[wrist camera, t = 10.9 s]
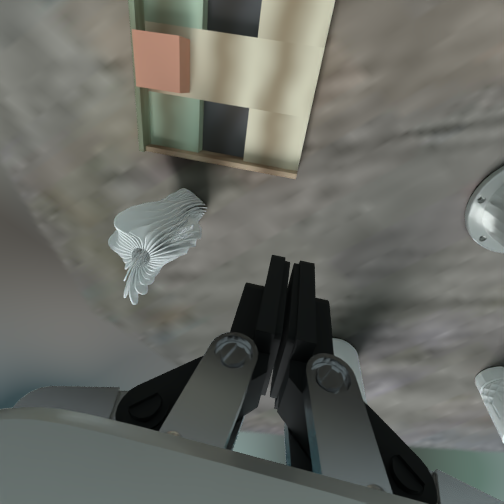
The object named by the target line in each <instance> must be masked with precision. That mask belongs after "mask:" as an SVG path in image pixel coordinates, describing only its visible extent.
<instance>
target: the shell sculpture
mask: <svg viewBox="0 0 504 504" xmlns="http://www.w3.org/2000/svg"><path fill="white" fill-rule="evenodd" d="M202 203H203V201H200V199H199V198H198V197H197V196H196V195H195V194H193V193H192V192H191V191H190V190H187V189H185V188H181V189H179V190H178V191H177V192H175V193H171V194H170V195H168V196H167V197H166V198H165V199H161V200H160V201H157V202H149V203H143V204H140V205H137V206H132V207H130V208H128V209H126V210H125V211H123V212H120V213H119V214H118V215H117V216H116V217H115V219H114V226H115V227H116V229H117V230H116V231H115V232H114V234H112V236H111V237H110V238H109V240H108V244H109V246H110V247H111V249H112V250H114V251H115V252H117V253H118V254H119V256H120V257H122V258H123V262H124V263H126V265H125V268H124V269H125V270H126V269H127V268H128V267H129V266H130V267H129V270H128V272H127V274H126V276H125V279H124V281H125V280H126V277H127V275H128V273H129V271H130V269H131V268H132V266H133V265H134V263H135V262H136V260H137V259H138V257H139V259H138V260H137V262H136V263H135V265H134V266H133V268H132V270H131V273H130V275H129V278H128V280H127V283H126V286H125V290H124V298H126V297H127V295H128V291H129V297H130V300H131V302H132V303H133V304H134V305H136V304H137V303H138V293H140V294H146V293H147V292H148V285H150V284H152V283H153V282H154V280H155V276H156V275H157V274H158V273H159V272H160V269H161V268H162V267H163V266H164V265H165V264H167V263H168V262H170V261H172V260H174V259H177V258H178V257H179V256H182V255H185V254H187V252H188V249H189V247H196V240H197V239H201V235H202V231H201V230H202V229H201V226H200V225H199V223H198V222H199V221H200V219H201V217H203V215H202V214H205V213H203V212H207V211H205V210H202V209H199V208H206V209H207V207H195V206H203V205H205V204H202ZM192 207H193V208H192ZM187 208H188V209H190V208H191V209H190V210H188V209H187ZM187 210H188V211H187ZM187 212H188V213H187ZM190 226H191V228H190ZM171 242H172V243H171ZM142 249H143V250H142ZM141 250H142V251H141ZM145 251H146V252H145ZM143 254H144V255H143ZM142 255H143V256H142ZM141 257H142V258H141Z"/></svg>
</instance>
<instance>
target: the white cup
mask: <svg viewBox="0 0 504 504" xmlns="http://www.w3.org/2000/svg"><path fill="white" fill-rule="evenodd" d="M475 384H476V386H477V388H478V390H479V392H480V394H481V396H482V399H483V402H484V404H485V406H486V408H487V410H488V413H489V415H490V417H491V419H492V421H493V423H494V425H495V427H496V429H497V431H498V433H499V435H500V437H501V439H502V441H503V443H504V367H501V366H498V367H492V368H488V369H485V370H483V371H481V372H480V373H479V374H478V375H477V376H476V377H475Z"/></svg>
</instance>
